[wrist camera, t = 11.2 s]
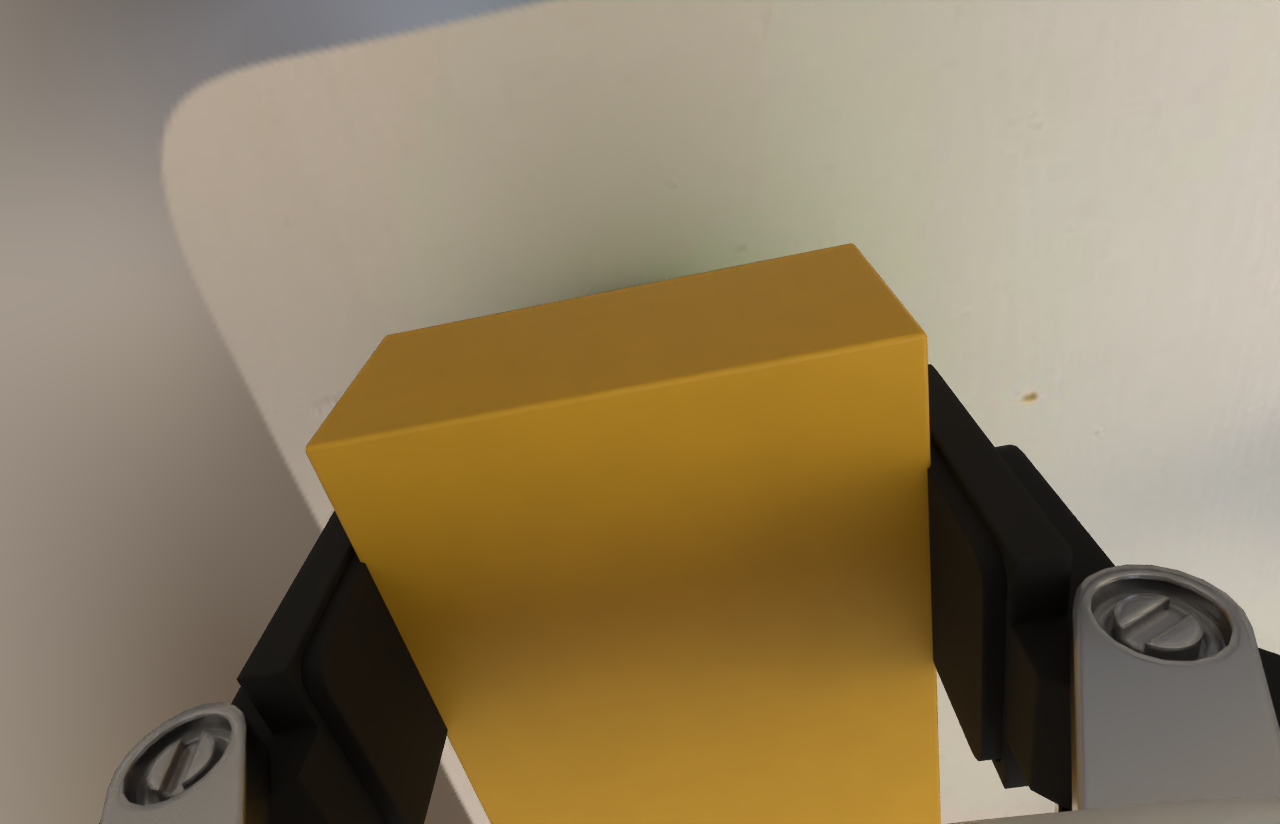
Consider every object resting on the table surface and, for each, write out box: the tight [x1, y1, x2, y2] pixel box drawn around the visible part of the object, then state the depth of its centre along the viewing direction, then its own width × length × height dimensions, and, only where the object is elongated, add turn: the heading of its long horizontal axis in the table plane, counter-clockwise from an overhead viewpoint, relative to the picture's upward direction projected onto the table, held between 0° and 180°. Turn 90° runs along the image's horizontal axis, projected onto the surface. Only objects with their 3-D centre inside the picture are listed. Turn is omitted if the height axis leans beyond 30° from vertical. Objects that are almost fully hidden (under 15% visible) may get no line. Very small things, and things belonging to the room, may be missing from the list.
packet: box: [306, 244, 941, 824], centre depth 12 cm, size 14×6×3 cm, turn 12°
